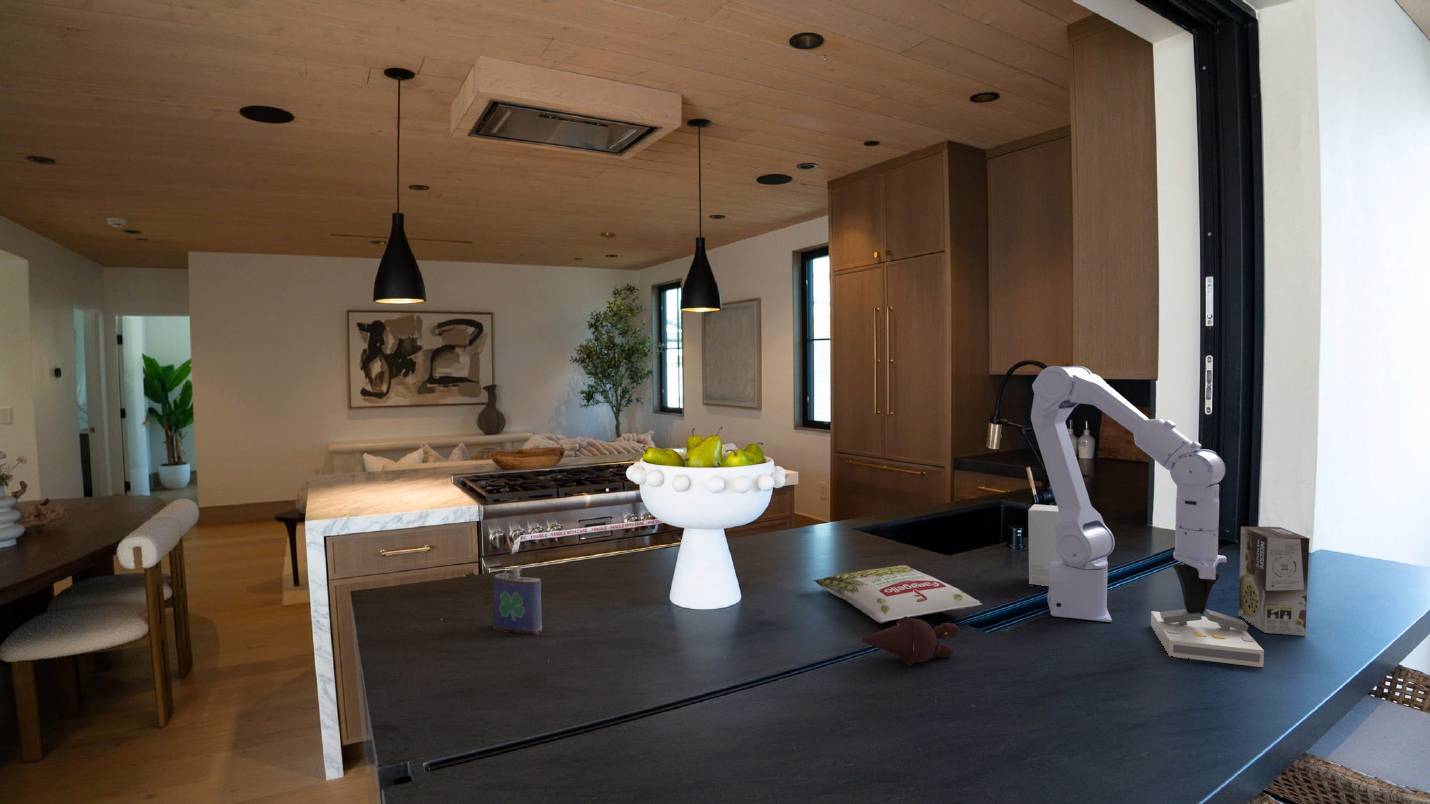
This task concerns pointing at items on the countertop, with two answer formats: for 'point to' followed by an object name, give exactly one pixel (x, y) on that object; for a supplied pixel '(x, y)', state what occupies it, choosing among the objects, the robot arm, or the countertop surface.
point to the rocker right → (1226, 621)
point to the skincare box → (1042, 542)
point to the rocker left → (1179, 616)
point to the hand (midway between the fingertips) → (1194, 612)
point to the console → (1207, 642)
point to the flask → (517, 603)
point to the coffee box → (1274, 579)
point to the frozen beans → (896, 593)
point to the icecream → (914, 640)
